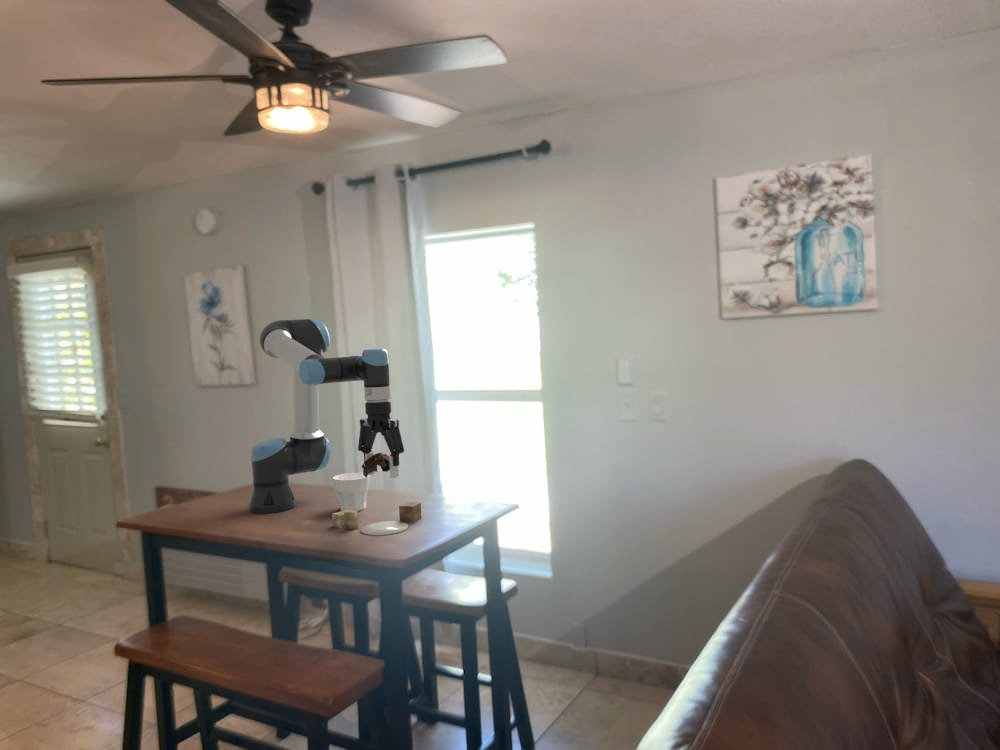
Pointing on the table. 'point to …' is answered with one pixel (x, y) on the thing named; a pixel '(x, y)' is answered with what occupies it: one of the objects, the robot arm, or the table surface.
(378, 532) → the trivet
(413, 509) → the walnut block
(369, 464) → the pottery mug
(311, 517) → the table surface
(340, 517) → the maple block
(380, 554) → the table surface
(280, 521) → the table surface
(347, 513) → the oak dowel offcut
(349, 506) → the cup
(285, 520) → the table surface
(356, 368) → the robot arm
